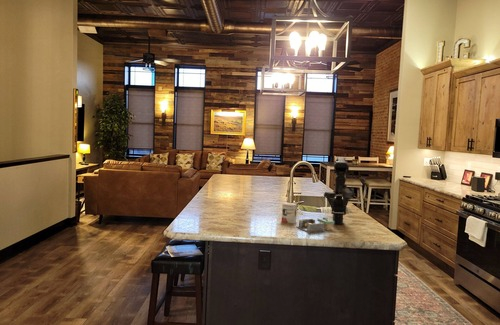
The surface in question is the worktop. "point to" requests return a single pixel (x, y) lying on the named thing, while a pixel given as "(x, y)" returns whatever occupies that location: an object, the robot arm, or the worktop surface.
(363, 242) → the worktop surface
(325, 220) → the board
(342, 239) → the worktop surface
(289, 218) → the ink box
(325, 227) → the block
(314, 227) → the chassis
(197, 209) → the worktop surface
